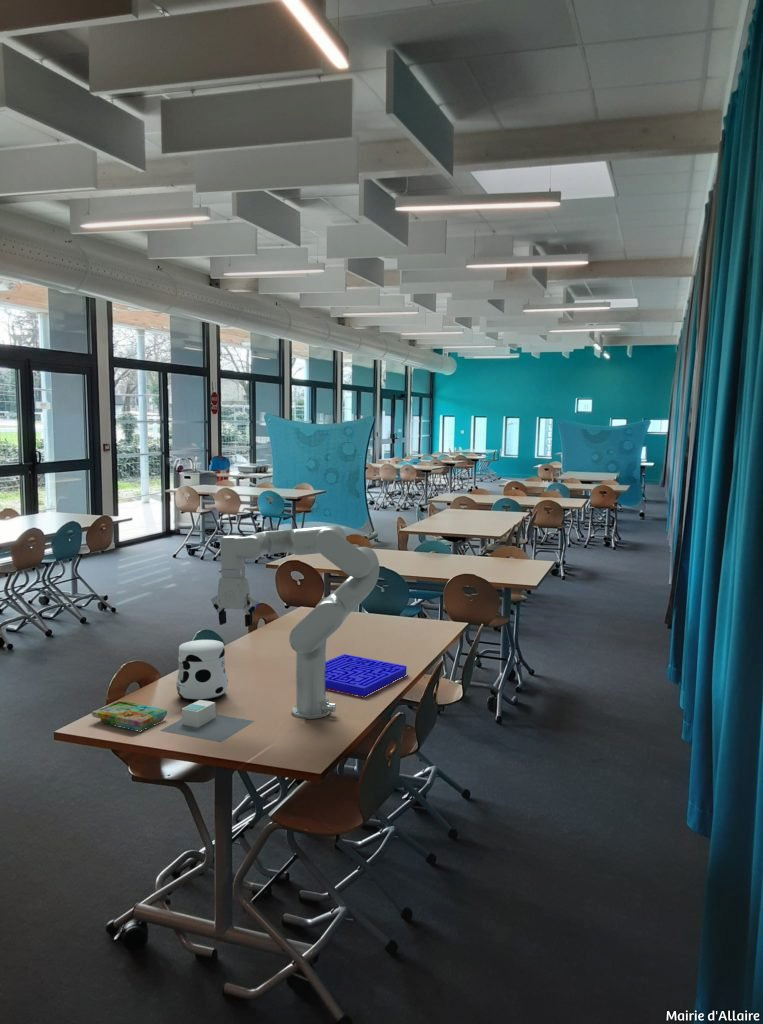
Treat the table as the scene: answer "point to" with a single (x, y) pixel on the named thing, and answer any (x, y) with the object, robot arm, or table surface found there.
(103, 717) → the puzzle game
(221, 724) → the mat
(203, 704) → the card box
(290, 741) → the table surface
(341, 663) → the maze
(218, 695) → the milk container
